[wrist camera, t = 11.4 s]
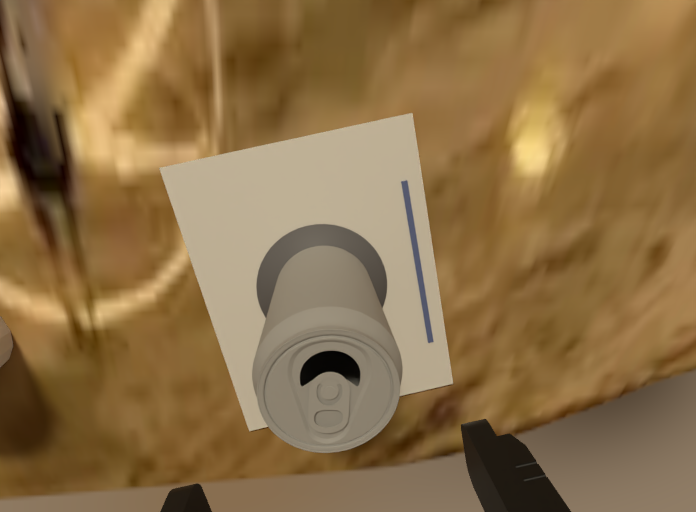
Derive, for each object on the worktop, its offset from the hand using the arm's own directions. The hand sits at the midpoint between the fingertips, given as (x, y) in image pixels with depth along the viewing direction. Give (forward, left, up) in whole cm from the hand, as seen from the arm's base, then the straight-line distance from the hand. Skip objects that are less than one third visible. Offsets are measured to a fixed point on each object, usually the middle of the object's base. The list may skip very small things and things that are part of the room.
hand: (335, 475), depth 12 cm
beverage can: (0, 0, -16) cm, 16 cm away
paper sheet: (0, 0, -16) cm, 16 cm away
